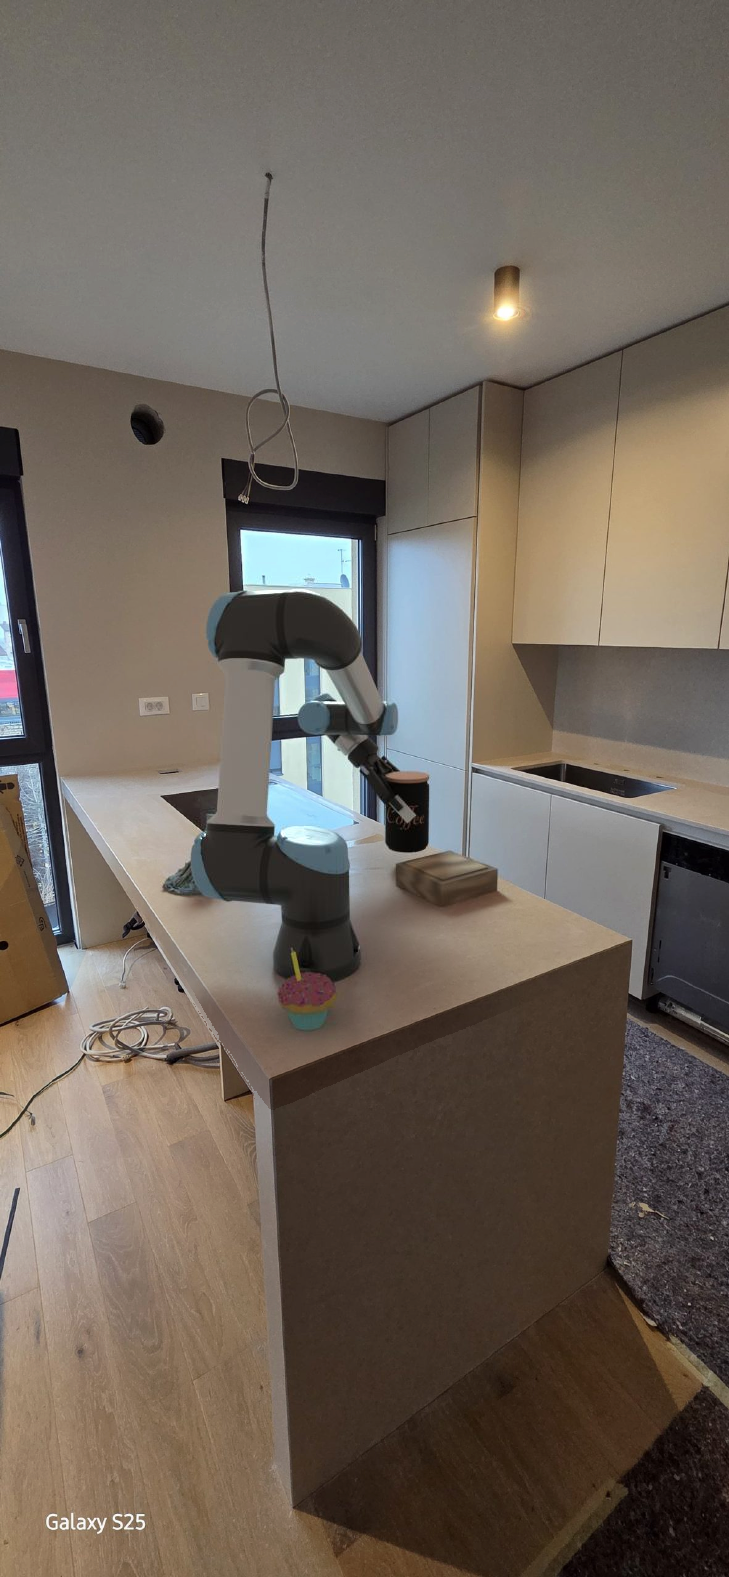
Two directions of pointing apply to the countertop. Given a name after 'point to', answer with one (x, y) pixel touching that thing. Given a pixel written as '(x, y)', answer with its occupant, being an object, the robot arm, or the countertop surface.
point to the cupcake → (307, 997)
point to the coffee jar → (417, 799)
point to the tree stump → (183, 878)
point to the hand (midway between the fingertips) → (418, 813)
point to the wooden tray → (446, 877)
